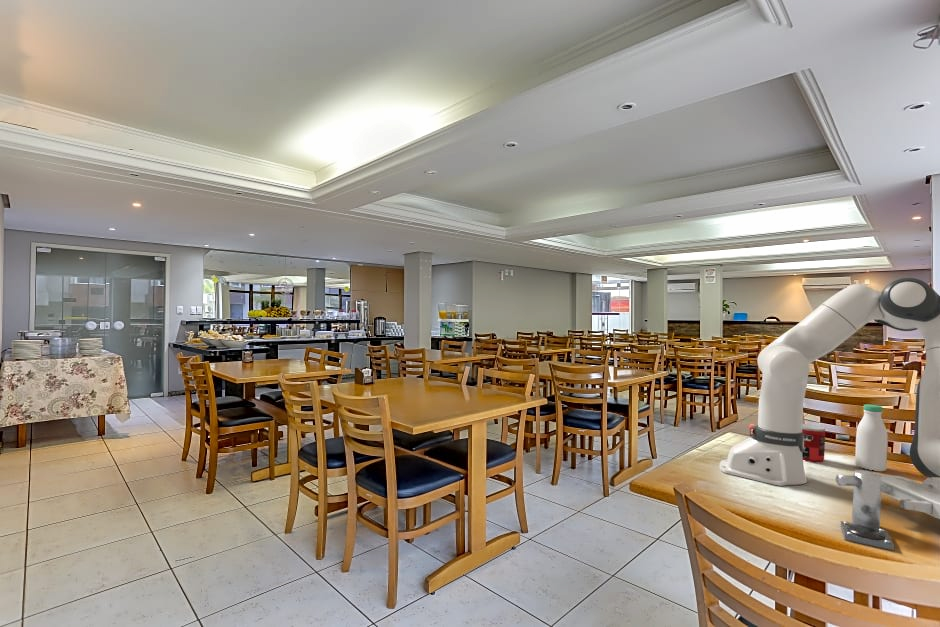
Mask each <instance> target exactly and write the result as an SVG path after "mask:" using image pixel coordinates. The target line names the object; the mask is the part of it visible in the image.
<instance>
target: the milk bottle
mask: <svg viewBox="0 0 940 627" xmlns="http://www.w3.org/2000/svg"><path fill="white" fill-rule="evenodd" d="M882 414H883V406H880V405H877V404H866V403H865V404H863V416H862V418H861V420H860V421H859V423H858V425H857V427H856V435H855V436H856V437H855V454H854V455H855V460H854V464H855V466H856V467H858V468H860V467H862V468H861V469H863V468H865V469H864V470H867V469H869V470H868V471H872V470H874V471H873V472H885V471H886V470H887V467H888V443H889V442H888V437H889V436H888V430H887V428H886V425H885V423H884V421H883V419H882Z"/></svg>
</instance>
